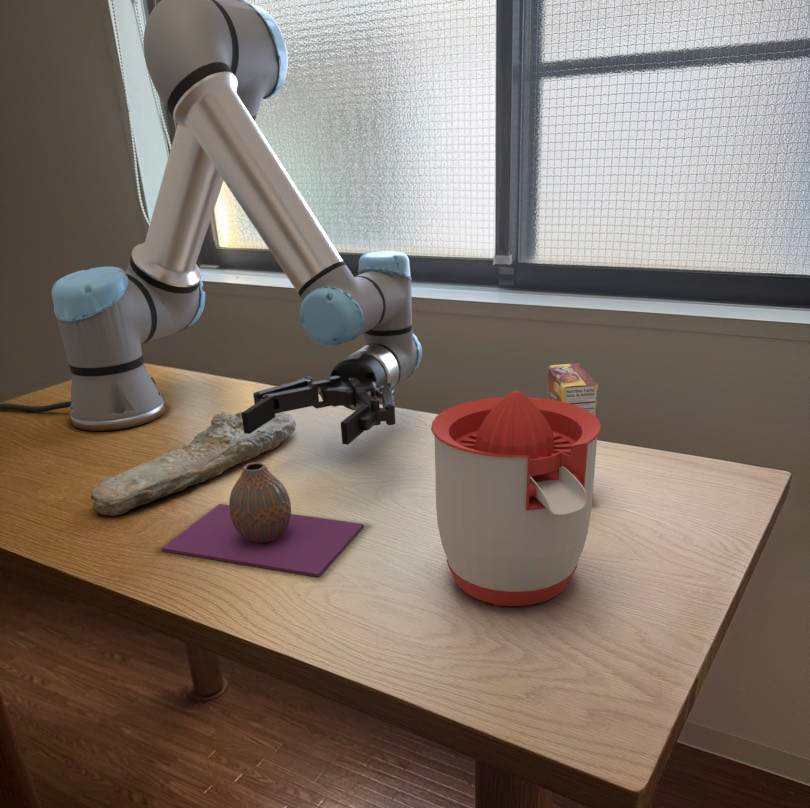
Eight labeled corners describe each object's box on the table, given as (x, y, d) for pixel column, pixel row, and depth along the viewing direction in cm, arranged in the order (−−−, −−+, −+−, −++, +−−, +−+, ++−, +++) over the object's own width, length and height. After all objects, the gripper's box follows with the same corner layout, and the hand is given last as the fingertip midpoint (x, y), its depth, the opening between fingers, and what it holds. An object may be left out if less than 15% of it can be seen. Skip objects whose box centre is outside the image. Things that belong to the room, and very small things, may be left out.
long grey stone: (77, 516, 100) (125, 538, 95) (66, 480, 97) (115, 501, 92) (265, 421, 123) (312, 435, 118) (261, 390, 120) (309, 403, 115)
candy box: (542, 478, 101) (547, 363, 93) (574, 476, 101) (582, 362, 93) (556, 508, 93) (563, 385, 86) (591, 506, 93) (601, 383, 86)
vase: (271, 516, 93) (261, 449, 89) (306, 534, 89) (297, 464, 85) (222, 537, 89) (210, 467, 85) (256, 556, 85) (245, 484, 80)
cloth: (162, 551, 88) (161, 548, 87) (220, 506, 97) (219, 503, 97) (318, 577, 81) (318, 574, 81) (363, 526, 91) (363, 523, 91)
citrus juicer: (489, 648, 69) (492, 439, 59) (411, 562, 83) (403, 382, 73) (631, 604, 74) (655, 405, 64) (535, 530, 88) (542, 358, 78)
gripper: (446, 410, 108) (390, 468, 91) (290, 396, 116) (211, 447, 99) (445, 357, 104) (386, 407, 87) (285, 347, 112) (201, 390, 95)
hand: (293, 428), depth 93 cm, fingers open, 13 cm apart
